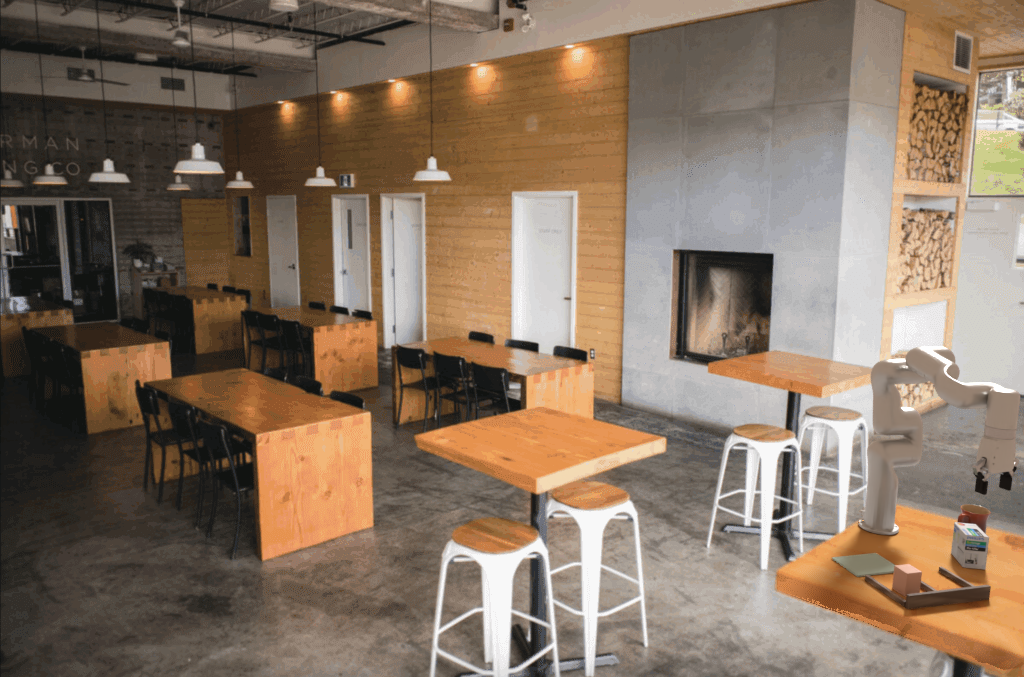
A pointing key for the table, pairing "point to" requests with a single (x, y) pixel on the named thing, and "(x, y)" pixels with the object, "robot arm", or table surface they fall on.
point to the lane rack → (937, 593)
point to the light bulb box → (970, 545)
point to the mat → (865, 564)
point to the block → (906, 579)
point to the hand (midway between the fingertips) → (992, 491)
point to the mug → (974, 516)
